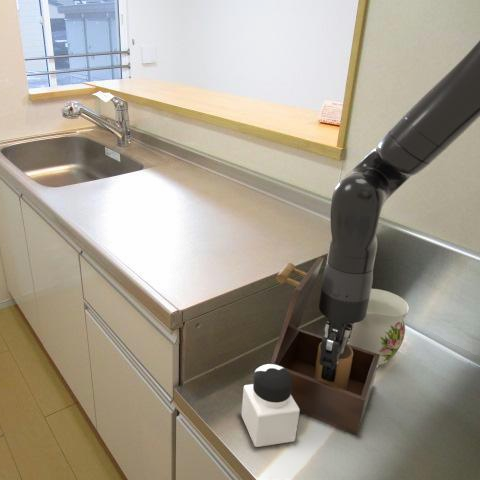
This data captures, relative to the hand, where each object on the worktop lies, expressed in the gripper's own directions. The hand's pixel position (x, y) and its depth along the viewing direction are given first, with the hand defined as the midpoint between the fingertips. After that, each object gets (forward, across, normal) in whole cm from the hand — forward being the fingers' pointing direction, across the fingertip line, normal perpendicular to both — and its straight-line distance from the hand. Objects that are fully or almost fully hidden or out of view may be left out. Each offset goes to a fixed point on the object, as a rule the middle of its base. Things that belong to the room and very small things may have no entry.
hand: (332, 368), depth 81 cm
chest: (+6, 0, +1) cm, 7 cm away
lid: (-10, 0, +7) cm, 12 cm away
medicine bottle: (+7, -13, +7) cm, 16 cm away
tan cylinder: (+4, 0, 0) cm, 4 cm away
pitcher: (+7, +17, -4) cm, 19 cm away
